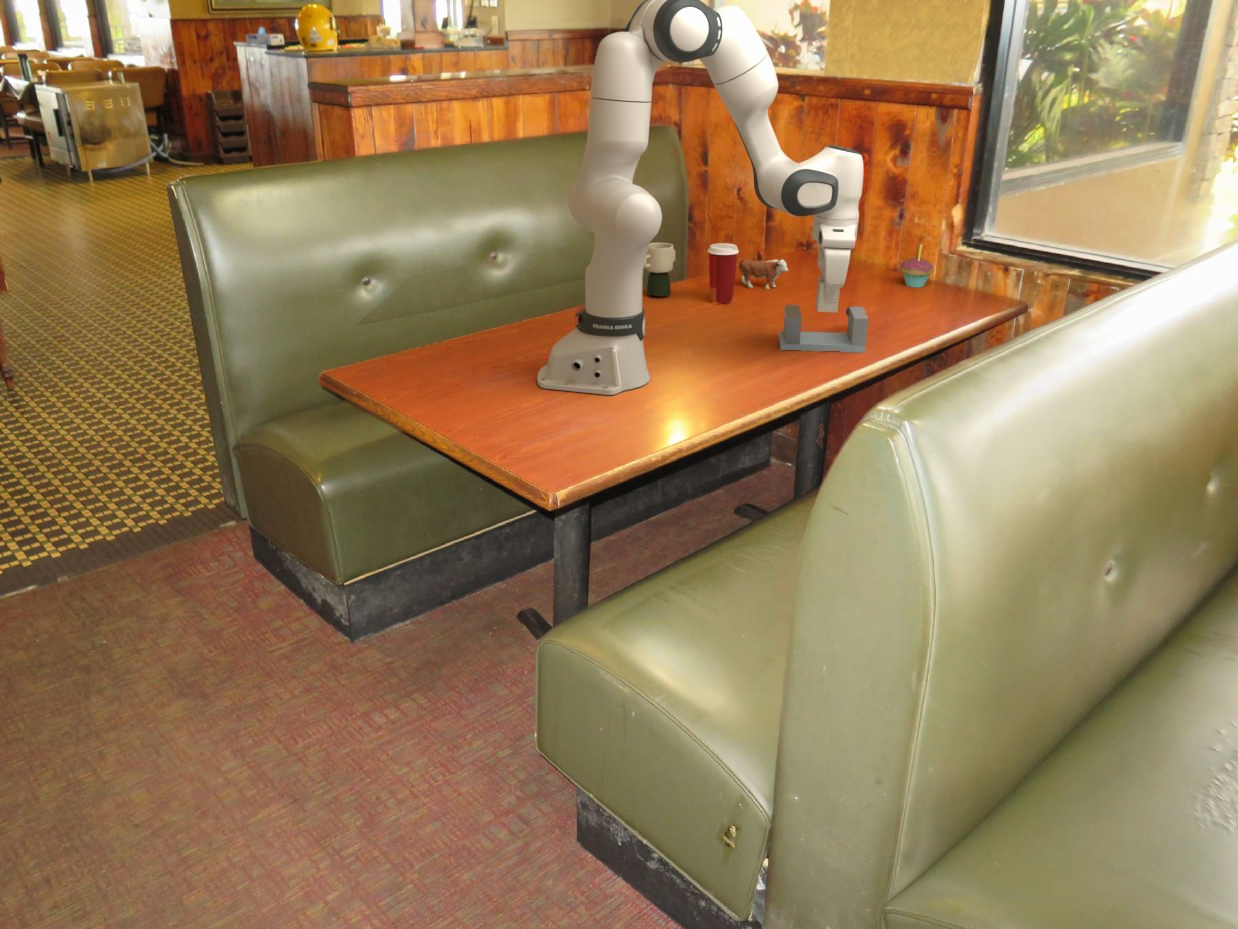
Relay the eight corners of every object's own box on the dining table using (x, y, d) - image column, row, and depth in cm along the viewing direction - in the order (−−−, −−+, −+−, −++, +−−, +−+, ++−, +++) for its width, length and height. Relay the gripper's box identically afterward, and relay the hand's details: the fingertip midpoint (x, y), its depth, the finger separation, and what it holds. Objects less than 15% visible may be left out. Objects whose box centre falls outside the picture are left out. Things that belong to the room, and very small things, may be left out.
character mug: (664, 289, 263) (665, 239, 257) (683, 294, 258) (684, 244, 252) (633, 296, 256) (633, 246, 251) (652, 302, 251) (653, 250, 246)
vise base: (780, 350, 216) (782, 316, 213) (776, 327, 232) (778, 295, 228) (865, 352, 215) (868, 318, 212) (855, 329, 230) (859, 297, 227)
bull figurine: (785, 292, 259) (787, 261, 256) (736, 287, 264) (737, 256, 261) (790, 288, 263) (792, 257, 259) (741, 283, 268) (743, 253, 264)
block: (817, 311, 205) (820, 282, 202) (815, 304, 209) (818, 276, 207) (837, 312, 204) (840, 283, 202) (834, 305, 209) (838, 277, 206)
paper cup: (741, 300, 253) (744, 244, 247) (728, 307, 247) (730, 250, 241) (714, 295, 257) (716, 241, 251) (700, 302, 251) (701, 247, 245)
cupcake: (934, 289, 261) (940, 243, 256) (902, 289, 261) (907, 243, 256) (926, 281, 269) (931, 236, 264) (894, 281, 269) (899, 236, 264)
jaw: (785, 343, 216) (787, 316, 213) (783, 330, 224) (785, 304, 221) (799, 343, 215) (801, 316, 213) (797, 331, 223) (798, 305, 221)
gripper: (814, 220, 210) (808, 285, 215) (823, 240, 191) (815, 310, 197) (845, 221, 209) (837, 286, 215) (856, 241, 191) (848, 312, 196)
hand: (827, 298), depth 206 cm, fingers closed on block, 5 cm apart
